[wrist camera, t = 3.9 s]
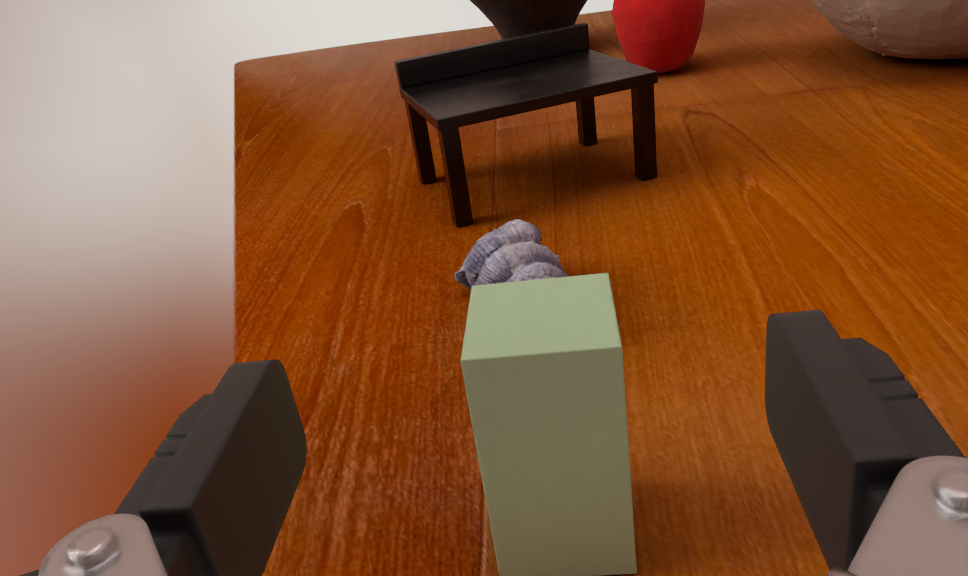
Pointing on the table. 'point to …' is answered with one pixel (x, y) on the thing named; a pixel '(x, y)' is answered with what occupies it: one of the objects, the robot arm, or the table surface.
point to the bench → (517, 96)
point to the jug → (529, 15)
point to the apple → (658, 31)
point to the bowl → (902, 26)
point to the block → (551, 425)
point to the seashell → (509, 257)
